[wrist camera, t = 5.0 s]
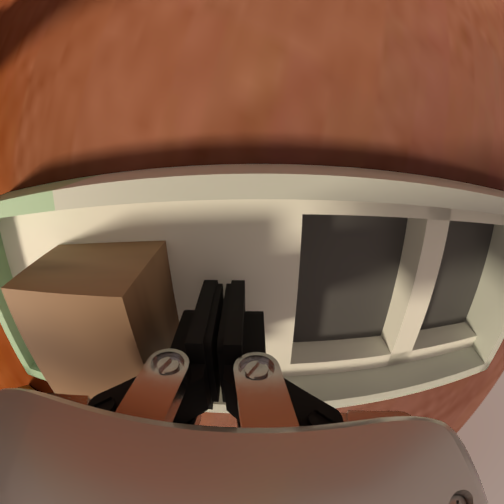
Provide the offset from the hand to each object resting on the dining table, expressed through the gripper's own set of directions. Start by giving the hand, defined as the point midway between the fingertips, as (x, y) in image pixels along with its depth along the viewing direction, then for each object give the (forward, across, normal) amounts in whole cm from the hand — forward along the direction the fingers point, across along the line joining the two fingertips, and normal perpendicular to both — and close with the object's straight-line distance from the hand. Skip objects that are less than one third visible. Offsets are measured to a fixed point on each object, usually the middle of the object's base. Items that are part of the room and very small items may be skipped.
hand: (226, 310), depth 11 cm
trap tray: (+3, -2, 0) cm, 3 cm away
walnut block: (+1, +5, 0) cm, 5 cm away
